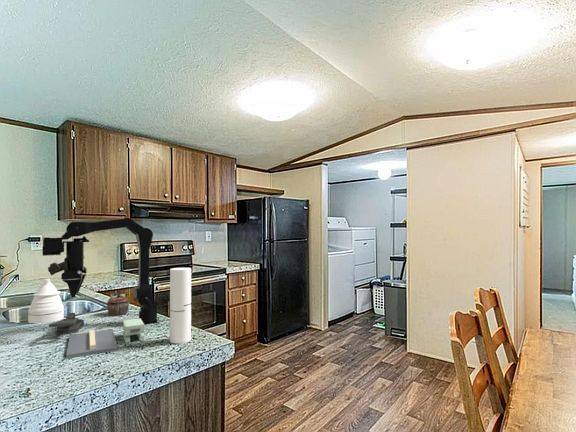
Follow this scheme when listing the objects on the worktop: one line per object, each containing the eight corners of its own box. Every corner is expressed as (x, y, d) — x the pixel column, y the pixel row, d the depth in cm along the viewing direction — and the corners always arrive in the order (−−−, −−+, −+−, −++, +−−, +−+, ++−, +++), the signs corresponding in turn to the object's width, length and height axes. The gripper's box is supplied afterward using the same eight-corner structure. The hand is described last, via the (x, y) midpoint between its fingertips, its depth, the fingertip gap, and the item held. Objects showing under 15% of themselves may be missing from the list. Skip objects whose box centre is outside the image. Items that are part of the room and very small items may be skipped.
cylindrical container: (194, 339, 123) (195, 268, 124) (176, 344, 118) (176, 270, 119) (184, 335, 128) (184, 267, 129) (165, 340, 123) (166, 268, 124)
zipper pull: (45, 324, 120) (60, 309, 143) (45, 344, 120) (59, 326, 143) (75, 321, 124) (85, 307, 147) (75, 340, 123) (84, 323, 146)
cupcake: (132, 314, 163) (132, 292, 163) (110, 317, 156) (110, 295, 156) (125, 310, 170) (125, 289, 170) (103, 314, 163) (103, 292, 163)
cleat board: (112, 331, 134) (112, 325, 134) (117, 350, 113) (117, 343, 113) (69, 337, 127) (69, 331, 127) (66, 358, 106) (66, 351, 106)
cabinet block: (140, 333, 132) (140, 318, 133) (144, 340, 123) (144, 324, 123) (123, 335, 129) (123, 320, 130) (125, 343, 120) (125, 327, 120)
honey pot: (63, 320, 151) (64, 279, 152) (26, 325, 144) (27, 281, 145) (63, 314, 162) (64, 275, 163) (29, 318, 155) (30, 278, 156)
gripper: (54, 253, 140) (54, 293, 139) (44, 257, 123) (44, 301, 122) (86, 252, 144) (86, 290, 144) (81, 255, 127) (81, 298, 127)
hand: (74, 295), depth 134 cm, fingers open, 9 cm apart
